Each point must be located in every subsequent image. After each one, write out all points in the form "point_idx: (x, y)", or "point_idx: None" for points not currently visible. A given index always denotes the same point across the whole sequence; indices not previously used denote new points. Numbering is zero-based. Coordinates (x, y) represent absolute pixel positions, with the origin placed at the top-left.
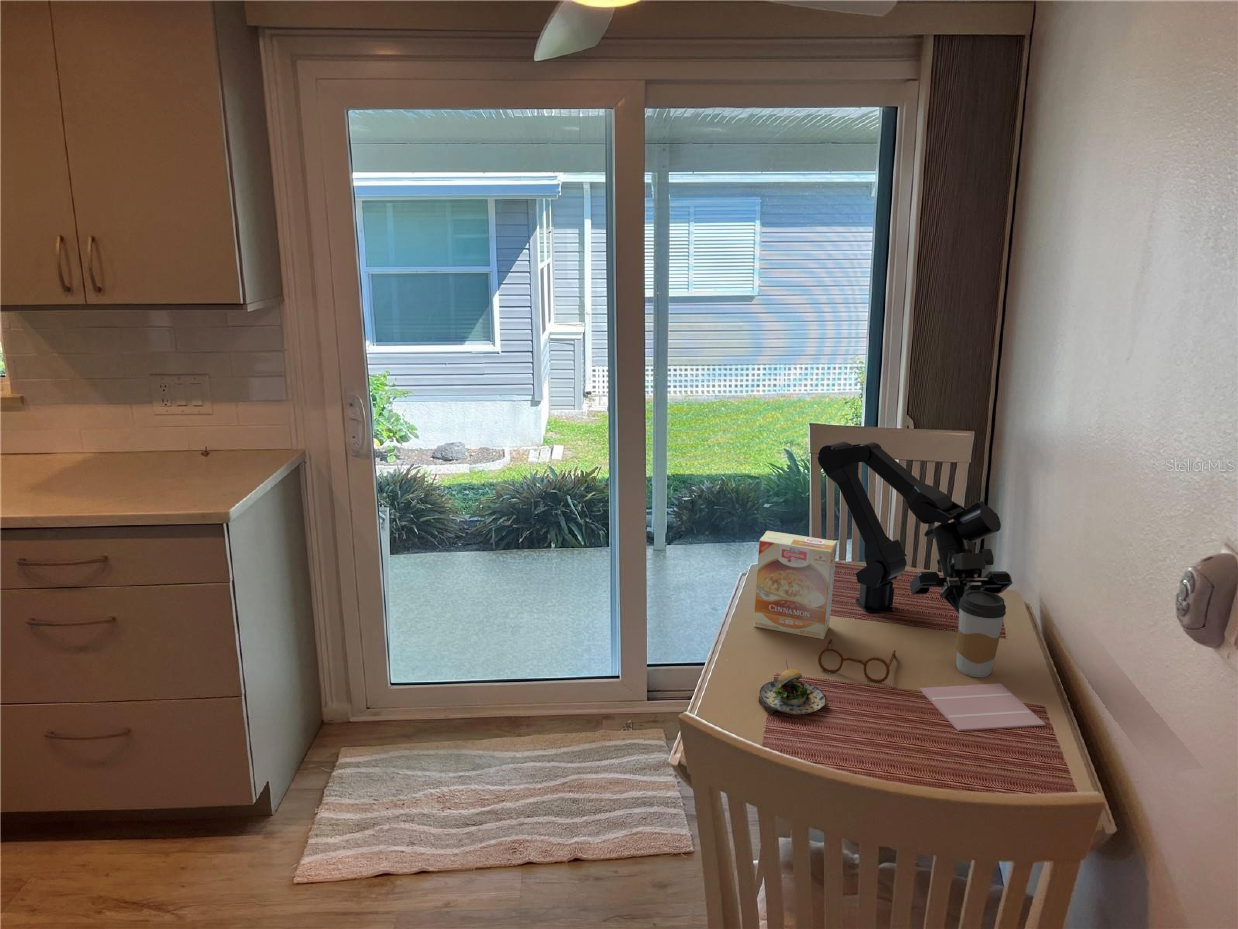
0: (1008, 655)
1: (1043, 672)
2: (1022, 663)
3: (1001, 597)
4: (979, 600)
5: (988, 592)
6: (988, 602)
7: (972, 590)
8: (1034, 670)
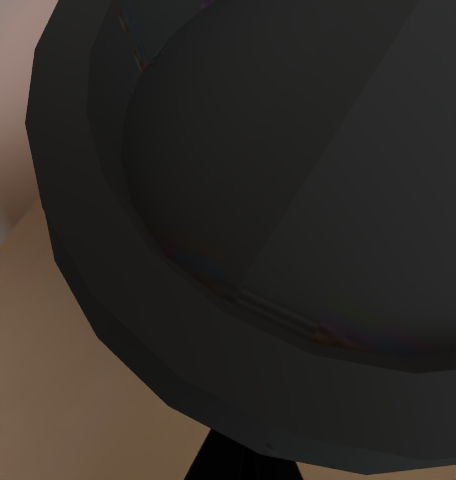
0: (31, 380)
1: (17, 234)
2: (33, 307)
3: (47, 30)
4: (454, 59)
5: (111, 260)
6: (318, 34)
7: (442, 445)
8: (35, 252)
